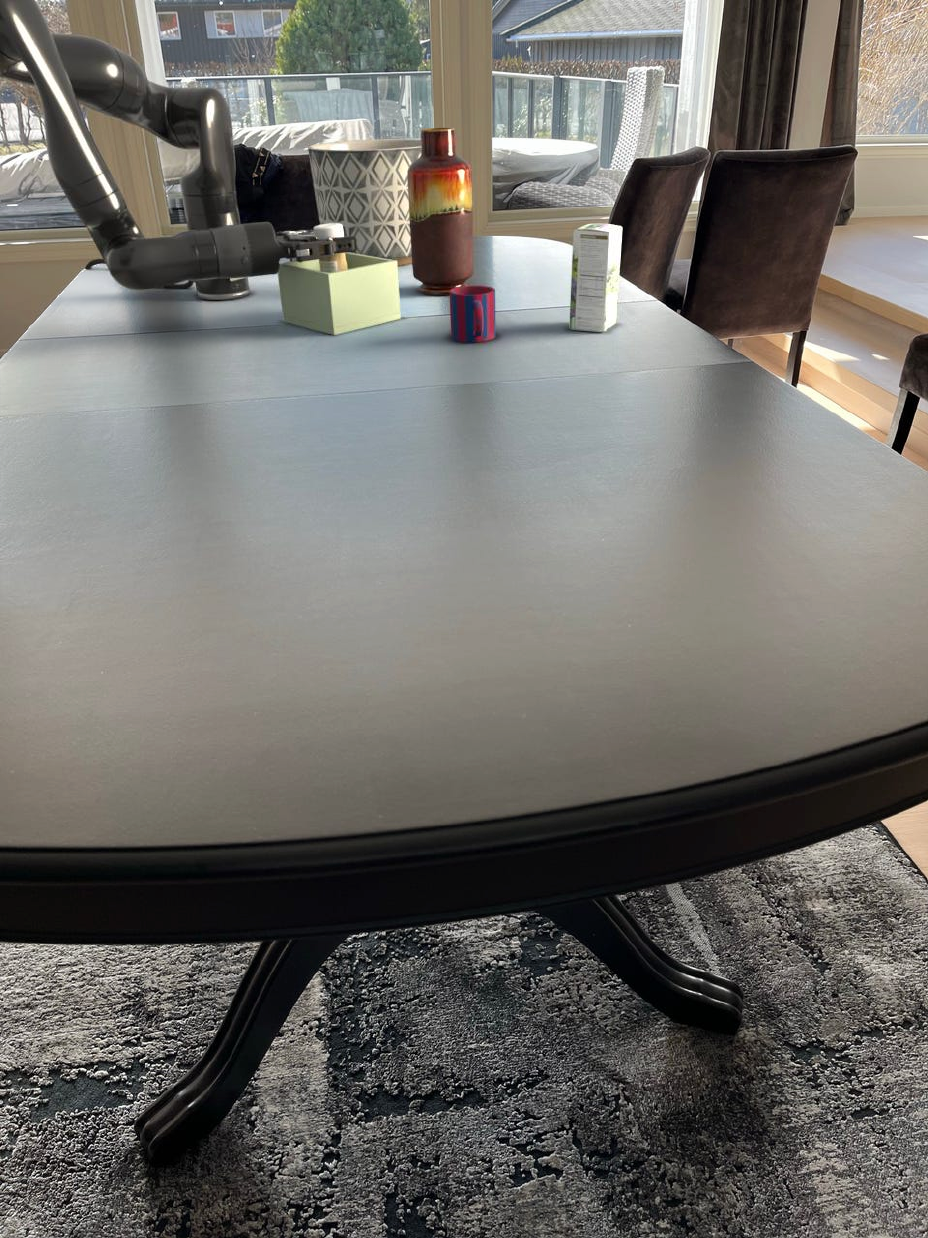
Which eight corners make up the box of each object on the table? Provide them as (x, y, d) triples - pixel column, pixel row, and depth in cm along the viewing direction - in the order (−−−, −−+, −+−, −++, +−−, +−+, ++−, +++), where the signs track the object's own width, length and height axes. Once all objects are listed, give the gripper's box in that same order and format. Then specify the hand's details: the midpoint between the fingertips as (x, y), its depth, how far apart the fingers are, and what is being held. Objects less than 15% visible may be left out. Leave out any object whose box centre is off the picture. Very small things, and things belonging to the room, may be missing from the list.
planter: (391, 245, 214) (384, 137, 203) (469, 258, 197) (466, 141, 186) (295, 262, 199) (282, 146, 188) (370, 278, 182) (361, 152, 171)
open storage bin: (283, 321, 154) (276, 263, 149) (349, 306, 162) (344, 251, 157) (334, 335, 145) (328, 274, 141) (400, 318, 153) (397, 260, 149)
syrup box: (581, 321, 148) (584, 222, 141) (617, 324, 146) (622, 223, 138) (568, 330, 144) (571, 228, 136) (605, 333, 141) (610, 229, 134)
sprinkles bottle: (359, 311, 153) (348, 223, 146) (337, 318, 150) (324, 228, 143) (342, 308, 156) (330, 221, 149) (320, 314, 153) (307, 226, 146)
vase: (403, 295, 168) (393, 131, 155) (428, 282, 177) (421, 126, 164) (460, 298, 165) (455, 130, 151) (483, 285, 174) (480, 125, 160)
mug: (494, 330, 145) (493, 284, 141) (498, 347, 136) (497, 299, 133) (450, 332, 145) (449, 286, 141) (451, 349, 136) (450, 300, 133)
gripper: (249, 230, 135) (362, 220, 141) (231, 218, 147) (336, 209, 152) (256, 284, 139) (366, 273, 144) (238, 268, 151) (340, 258, 156)
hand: (350, 240), depth 148 cm, fingers open, 5 cm apart
